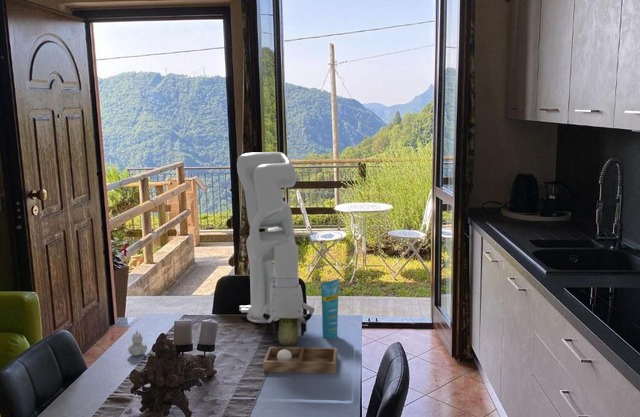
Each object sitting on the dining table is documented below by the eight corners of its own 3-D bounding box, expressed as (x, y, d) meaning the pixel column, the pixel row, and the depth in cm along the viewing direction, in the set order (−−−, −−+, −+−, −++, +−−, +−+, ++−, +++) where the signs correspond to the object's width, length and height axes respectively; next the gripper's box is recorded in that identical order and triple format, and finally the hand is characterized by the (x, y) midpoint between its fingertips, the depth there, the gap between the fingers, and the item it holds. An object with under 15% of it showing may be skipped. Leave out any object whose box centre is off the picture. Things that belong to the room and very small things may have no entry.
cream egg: (275, 367, 159) (275, 352, 159) (278, 360, 164) (277, 346, 163) (291, 367, 159) (290, 353, 158) (293, 361, 163) (292, 346, 163)
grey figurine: (148, 350, 174) (147, 326, 172) (146, 359, 167) (144, 334, 166) (130, 351, 173) (128, 327, 172) (127, 360, 166) (125, 335, 165)
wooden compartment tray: (263, 373, 157) (263, 361, 156) (269, 357, 167) (269, 346, 167) (335, 375, 155) (335, 363, 155) (337, 359, 166) (337, 348, 165)
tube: (327, 342, 179) (326, 284, 176) (317, 337, 182) (316, 281, 179) (343, 335, 184) (343, 279, 181) (332, 331, 187) (332, 276, 184)
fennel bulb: (299, 345, 177) (299, 308, 175) (290, 350, 173) (289, 313, 171) (285, 341, 180) (284, 305, 178) (275, 346, 176) (274, 310, 174)
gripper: (256, 284, 170) (258, 337, 173) (312, 285, 169) (313, 338, 171) (261, 277, 177) (262, 329, 180) (315, 278, 176) (315, 329, 179)
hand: (287, 333), depth 176 cm, fingers open, 9 cm apart
